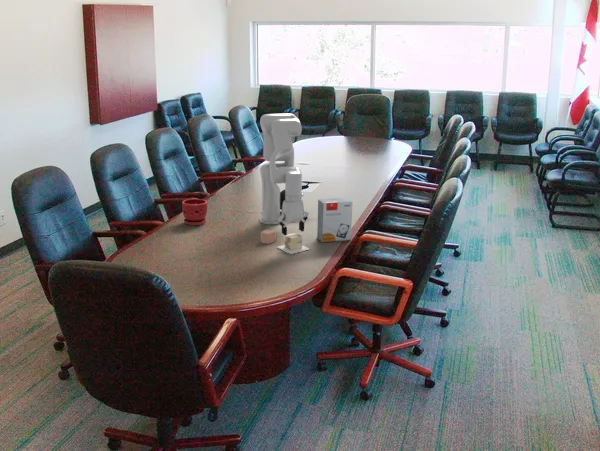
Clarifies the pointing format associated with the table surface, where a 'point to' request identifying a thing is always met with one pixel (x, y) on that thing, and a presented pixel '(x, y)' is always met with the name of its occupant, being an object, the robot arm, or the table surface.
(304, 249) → the felt coaster
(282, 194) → the black ball on stand
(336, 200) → the hard drive box
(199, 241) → the table surface
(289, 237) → the maple block
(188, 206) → the plant pot
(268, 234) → the terracotta block
